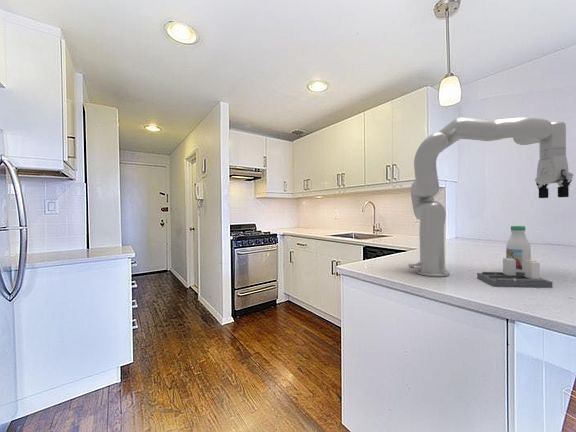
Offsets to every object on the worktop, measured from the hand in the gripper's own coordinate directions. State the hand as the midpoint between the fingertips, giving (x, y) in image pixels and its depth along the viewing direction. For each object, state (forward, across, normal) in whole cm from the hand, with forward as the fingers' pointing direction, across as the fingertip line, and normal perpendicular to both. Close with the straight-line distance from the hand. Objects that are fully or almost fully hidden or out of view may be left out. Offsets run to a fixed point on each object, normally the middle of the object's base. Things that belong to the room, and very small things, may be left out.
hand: (552, 197), depth 107 cm
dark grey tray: (+31, +12, -22) cm, 40 cm away
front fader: (+29, +15, -17) cm, 36 cm away
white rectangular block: (+29, +10, -21) cm, 37 cm away
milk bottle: (+31, 0, -12) cm, 34 cm away
